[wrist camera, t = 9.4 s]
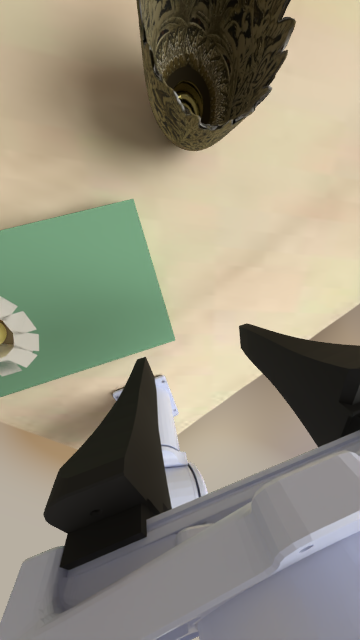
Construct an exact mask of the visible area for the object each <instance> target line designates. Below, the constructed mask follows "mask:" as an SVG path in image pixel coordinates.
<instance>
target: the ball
mask: <svg viewBox="0 0 360 640" xmlns="http://www.w3.org/2000/svg"><path fill="white" fill-rule="evenodd" d="M6 336H7V331H6V328H5V326H4V325H3V324H2V323H1V322H0V345H1V344H2V343H3V342H4V341H5V339H6Z"/></svg>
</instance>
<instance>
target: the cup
mask: <svg viewBox="0 0 360 640" xmlns="http://www.w3.org/2000/svg"><path fill="white" fill-rule="evenodd" d="M290 1H291V0H137V9H138V17H139V27H140V38H141V47H142V57H143V66H144V75H145V81H146V87H147V92H148V97H149V101H150V104H151V108H152V111H153V114H154V116H155V118H156V121H157V123H158V124H159V126H160V128H161V129H162V131H163V133H164V134H165V135H166V136H167V138H168V139H169V140H170V141H171V142H173V143H174V144H175V145H177V146H178V147H180V148H182V149H185V150H189V151H199V150H203V149H206V148H208V147H210V146H212V145H214V144H215V143H217V142H218V141H220V140H221V139H222V138H223V137H224V136H226V135H227V134H228V133H229V132H230V131H231V130H233V129H234V128H235V127H236V126H237V125H238V124H239V123H240V122H242V121H243V120H244V119H245V118H246V117H247V116H249V115H250V114H252V113H253V112H254V111H255V108H256V107H257V106H258V105H259V104H260V103H261V102H262V101H263V100H264V99H265V98H266V97H267V95H268V94H269V93H270V92H271V90H272V87H270V86H269V85H270V83H271V82H272V81H273V80H274V78H275V75H276V73H277V72H278V70H279V69H280V67H281V65H282V64H283V62H284V60H285V59H286V56H287V53H288V50H286V51H285V50H284V49H285V47H286V46H287V44H288V41H289V39H290V36H291V34H292V32H293V30H294V27H295V23H296V21H295V19H293V18H291V17H284V18H283V19H282V17H283V15H284V13H285V11H286V8H287V6H288V4H289V2H290ZM283 50H284V51H283ZM282 51H283V52H282ZM186 108H187V109H186Z"/></svg>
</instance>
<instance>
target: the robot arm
mask: <svg viewBox="0 0 360 640" xmlns="http://www.w3.org/2000/svg"><path fill="white" fill-rule="evenodd" d="M239 330H240V343H241V349H242V350H243V351H244V353H245V354H246V356H247V357H248V358H249V359H250V360H251V362H252V363H253V364H254V365H255V366H256V367H257V368H258V369H259V370H260V371H261V372H262V373H263V374H264V375H265V376H266V377H267V378H268V379H269V380H270V381H271V383H272V384H273V385H274V386H275V387H276V388H277V390H278V391H279V392H280V394H281V395H282V396H283V397H284V399H285V400H286V401H287V403H288V404H289V405H290V407H291V408H292V409H293V411H294V412H295V414H296V415H297V416H298V418H299V419H300V421H301V422H302V423H303V425H304V426H305V428H306V429H307V431H308V432H309V434H310V435H311V437H312V438H313V440H314V441H315V443H316V444H317V446H318V448H316V449H313V450H311V451H309V452H306V453H304V454H301V455H299V456H297V457H294V458H292V459H289V460H287V461H285V462H282V463H280V464H278V465H275V466H273V467H270V468H268V469H266V470H264V471H261V472H259V473H256V474H254V475H251V476H249V477H247V478H244V479H242V480H240V481H237V482H235V483H232V484H230V485H228V486H225V487H223V488H221V489H218V490H216V491H213V492H211V493H209V494H208V492H207V488H206V485H205V482H204V479H203V477H202V475H201V473H200V472H199V471H198V468H197V467H196V466H195V465H194V464H193V463H188V462H187V457H186V452H180V449H179V443H178V438H177V433H176V427H175V422H174V416H176V415H178V414H179V412H178V409H177V407H176V404H175V401H174V399H173V396H172V393H171V391H170V388H169V386H168V383H167V380H166V378H165V376H164V375H161V376H158V377H155V378H154V375H153V373H152V371H151V368H150V366H149V363H148V361H147V359H146V357H144V358H141V359H137V361H136V363H135V366H134V368H133V370H132V372H131V375H130V377H129V379H128V381H127V383H126V385H125V387H124V388H123V389H120V390H117V391H115V392H113V397H114V399H115V400H116V403H115V404H114V406H113V407H112V409H111V410H110V412H109V413H108V414H107V416H106V417H105V418H104V420H103V421H102V422H101V424H100V425H99V426H98V428H97V429H96V430H95V431H94V432H93V434H92V435H91V436H90V437H89V438H88V439H87V441H86V442H85V443H84V444H83V445H82V446H81V447H80V448H79V449H78V451H77V452H76V453H75V454H74V455H73V456H72V457H71V458H70V459H69V460H68V461H67V462H66V463H65V464H64V465H63V466H62V467H61V468H60V470H59V472H58V474H57V477H56V480H55V482H54V485H53V488H52V491H51V494H50V496H49V499H48V502H47V505H46V508H45V511H44V517H45V520H46V521H47V522H48V523H49V524H50V525H52V526H54V527H56V528H58V529H60V530H62V531H64V532H66V533H68V535H67V539H66V543H65V546H60V547H55V548H52V549H49V550H47V551H45V552H42V553H40V554H37V555H35V556H33V557H30V558H28V559H26V560H25V561H24V562H23V563H22V566H21V568H20V571H19V574H18V577H17V579H16V582H15V585H14V587H13V590H12V593H11V595H10V598H9V601H8V604H7V606H6V609H5V612H4V615H3V617H2V620H1V623H0V640H192V639H194V638H196V637H198V636H199V639H200V640H360V346H355V345H341V344H331V343H324V342H316V341H310V340H305V339H300V338H295V337H291V336H287V335H283V334H280V333H276V332H273V331H270V330H266V329H263V328H260V327H257V326H254V325H250V324H244V325H241V326H239ZM163 380H164V381H163ZM117 396H119V397H117Z"/></svg>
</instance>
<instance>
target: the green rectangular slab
mask: <svg viewBox="0 0 360 640" xmlns="http://www.w3.org/2000/svg"><path fill="white" fill-rule="evenodd" d="M0 319H1V320H2V321H3V322H4V323H5V324H6V326H7V327H8V328H9V329H10V330H11V332H12V333H13V338H14V344H3V343H2V344H1V345H0V397H3V396H6V395H9V394H12V393H15V392H18V391H21V390H24V389H27V388H30V387H33V386H36V385H39V384H43V383H46V382H49V381H52V380H55V379H58V378H61V377H64V376H67V375H70V374H73V373H76V372H79V371H82V370H86V369H89V368H92V367H95V366H98V365H101V364H104V363H107V362H110V361H113V360H116V359H119V358H122V357H125V356H129V355H132V354H135V353H138V352H141V351H144V350H147V349H150V348H153V347H156V346H159V345H162V344H165V343H168V342H172V341H175V337H174V334H173V330H172V327H171V324H170V320H169V317H168V314H167V310H166V307H165V304H164V300H163V297H162V294H161V290H160V287H159V283H158V280H157V277H156V273H155V270H154V267H153V263H152V260H151V257H150V253H149V250H148V247H147V243H146V240H145V237H144V233H143V230H142V227H141V223H140V220H139V217H138V213H137V210H136V207H135V203H134V200H133V199H130V200H126V201H122V202H118V203H114V204H109V205H105V206H101V207H97V208H93V209H88V210H84V211H80V212H76V213H72V214H68V215H63V216H59V217H55V218H51V219H47V220H42V221H38V222H34V223H30V224H26V225H22V226H17V227H13V228H9V229H5V230H1V231H0Z"/></svg>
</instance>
